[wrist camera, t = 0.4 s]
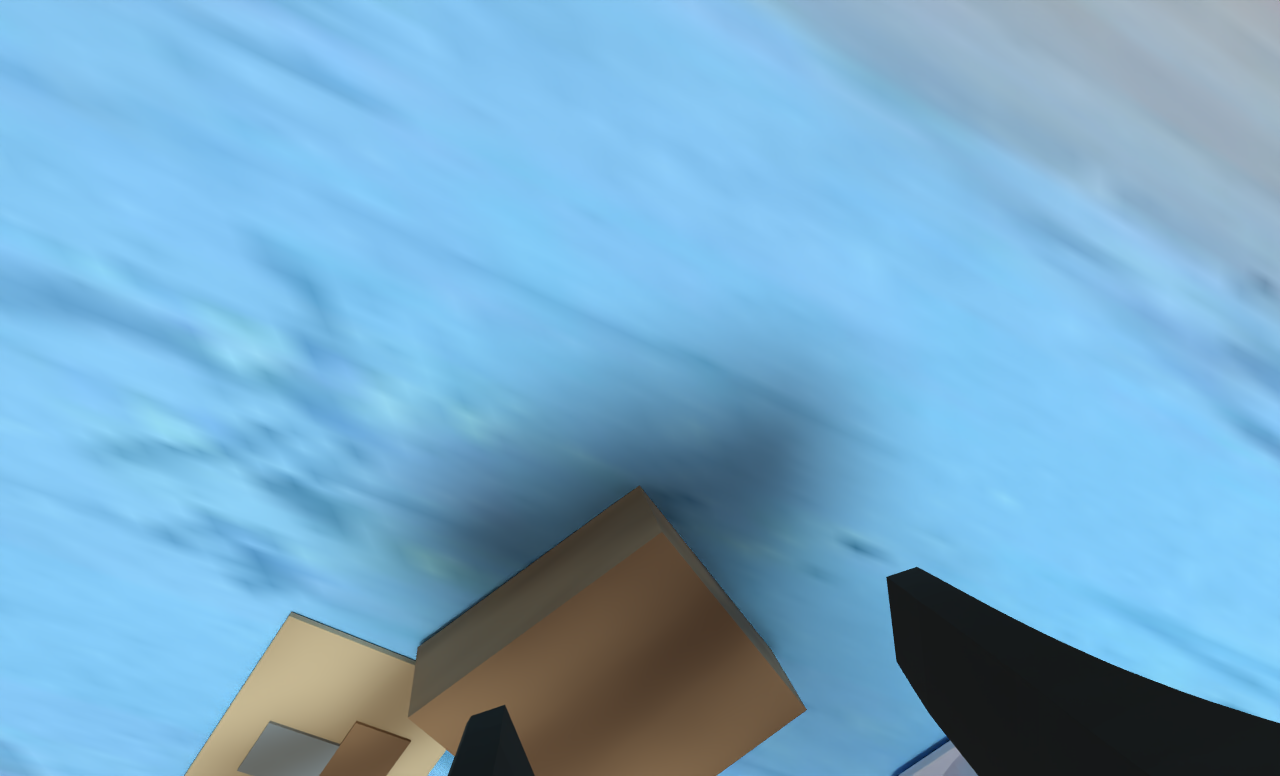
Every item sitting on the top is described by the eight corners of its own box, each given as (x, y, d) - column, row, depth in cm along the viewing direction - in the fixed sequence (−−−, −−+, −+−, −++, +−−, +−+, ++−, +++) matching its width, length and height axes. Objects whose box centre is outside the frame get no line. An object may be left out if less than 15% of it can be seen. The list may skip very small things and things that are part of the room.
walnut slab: (771, 649, 25) (806, 710, 22) (578, 789, 25) (590, 866, 22) (639, 484, 22) (661, 531, 19) (417, 647, 22) (407, 717, 19)
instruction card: (487, 689, 23) (487, 696, 23) (343, 884, 25) (342, 892, 24) (291, 611, 21) (288, 618, 20) (146, 832, 22) (142, 841, 22)
